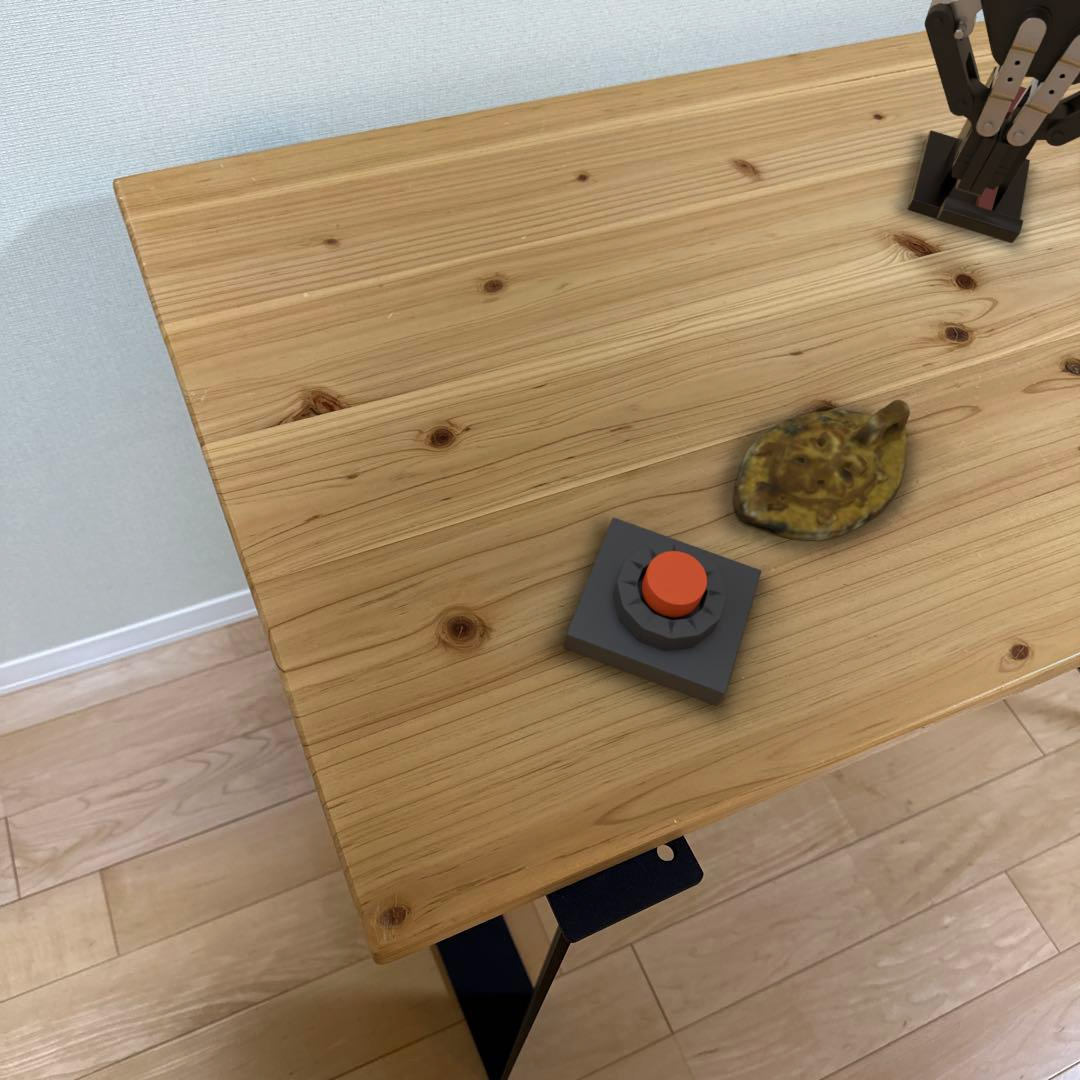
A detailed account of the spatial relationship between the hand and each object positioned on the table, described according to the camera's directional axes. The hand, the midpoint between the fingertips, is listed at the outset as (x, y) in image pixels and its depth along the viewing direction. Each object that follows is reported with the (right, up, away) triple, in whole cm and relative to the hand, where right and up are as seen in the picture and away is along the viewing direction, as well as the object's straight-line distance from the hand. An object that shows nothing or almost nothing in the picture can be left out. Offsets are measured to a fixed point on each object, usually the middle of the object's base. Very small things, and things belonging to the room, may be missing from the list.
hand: (970, 184), depth 57 cm
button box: (-17, -26, +5) cm, 31 cm away
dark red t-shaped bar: (+11, +9, +21) cm, 26 cm away
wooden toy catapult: (+12, +10, +29) cm, 32 cm away
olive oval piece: (-5, -16, +12) cm, 21 cm away
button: (-17, -24, +2) cm, 29 cm away
